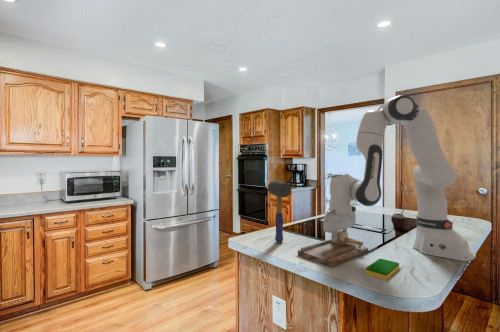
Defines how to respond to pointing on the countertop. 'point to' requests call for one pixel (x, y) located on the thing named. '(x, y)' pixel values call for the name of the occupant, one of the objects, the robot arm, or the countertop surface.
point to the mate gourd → (398, 220)
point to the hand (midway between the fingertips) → (339, 238)
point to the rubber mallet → (279, 205)
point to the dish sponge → (382, 268)
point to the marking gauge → (345, 239)
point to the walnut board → (331, 252)
